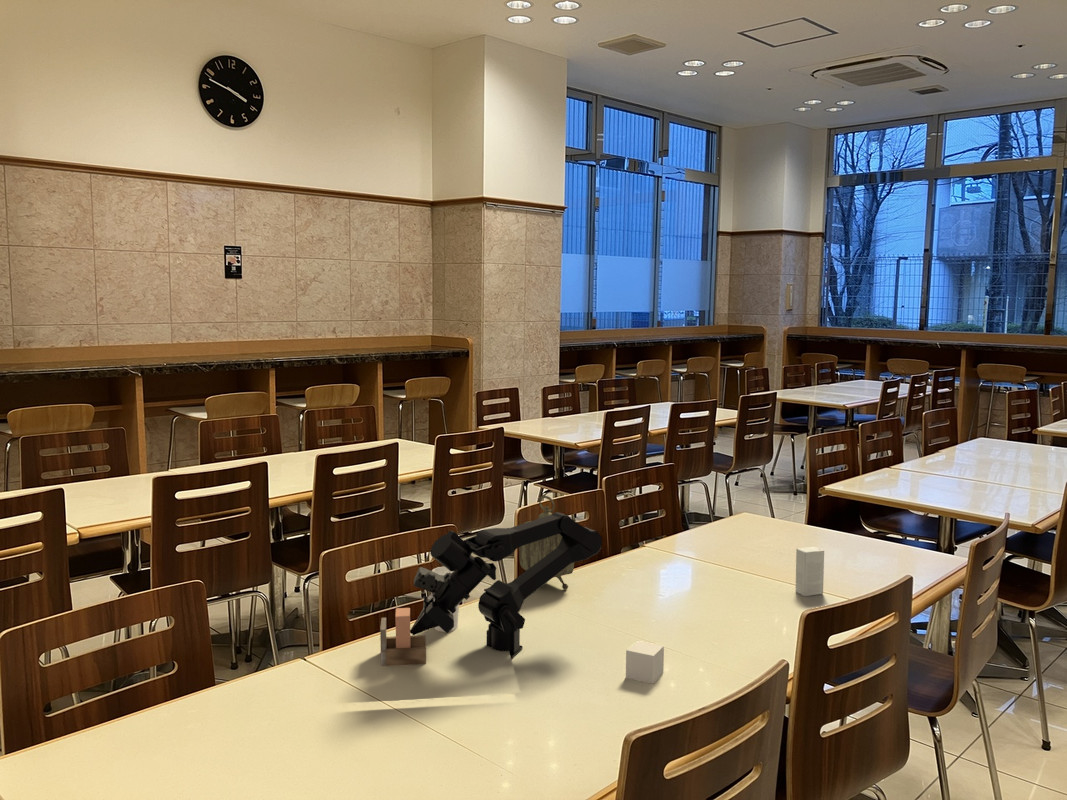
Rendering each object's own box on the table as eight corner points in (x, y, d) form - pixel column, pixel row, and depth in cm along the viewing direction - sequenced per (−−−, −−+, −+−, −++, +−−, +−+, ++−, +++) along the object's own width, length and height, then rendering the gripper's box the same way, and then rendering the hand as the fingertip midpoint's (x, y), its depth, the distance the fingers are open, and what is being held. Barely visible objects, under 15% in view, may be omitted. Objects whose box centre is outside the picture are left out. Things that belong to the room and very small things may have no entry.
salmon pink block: (410, 652, 190) (409, 607, 189) (410, 661, 185) (409, 615, 184) (396, 652, 190) (395, 608, 189) (396, 662, 185) (395, 616, 184)
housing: (430, 654, 192) (429, 614, 191) (431, 669, 185) (430, 628, 184) (382, 656, 191) (381, 616, 190) (380, 672, 183) (380, 630, 182)
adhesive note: (653, 684, 178) (653, 655, 177) (625, 678, 181) (626, 650, 180) (663, 673, 183) (664, 645, 183) (636, 667, 186) (637, 640, 185)
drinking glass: (456, 639, 201) (455, 575, 199) (428, 637, 202) (427, 573, 201) (464, 628, 208) (464, 567, 206) (437, 626, 209) (436, 565, 207)
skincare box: (813, 589, 237) (815, 546, 235) (823, 594, 233) (825, 550, 231) (794, 591, 235) (795, 548, 233) (803, 596, 231) (805, 552, 229)
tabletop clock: (574, 590, 235) (575, 499, 232) (547, 596, 230) (547, 503, 227) (543, 576, 247) (544, 489, 244) (516, 582, 242) (516, 493, 239)
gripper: (434, 544, 195) (385, 594, 195) (437, 569, 177) (382, 624, 177) (470, 576, 197) (421, 626, 197) (476, 605, 179) (422, 660, 179)
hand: (411, 633), depth 187 cm, fingers closed, pressing on salmon pink block
